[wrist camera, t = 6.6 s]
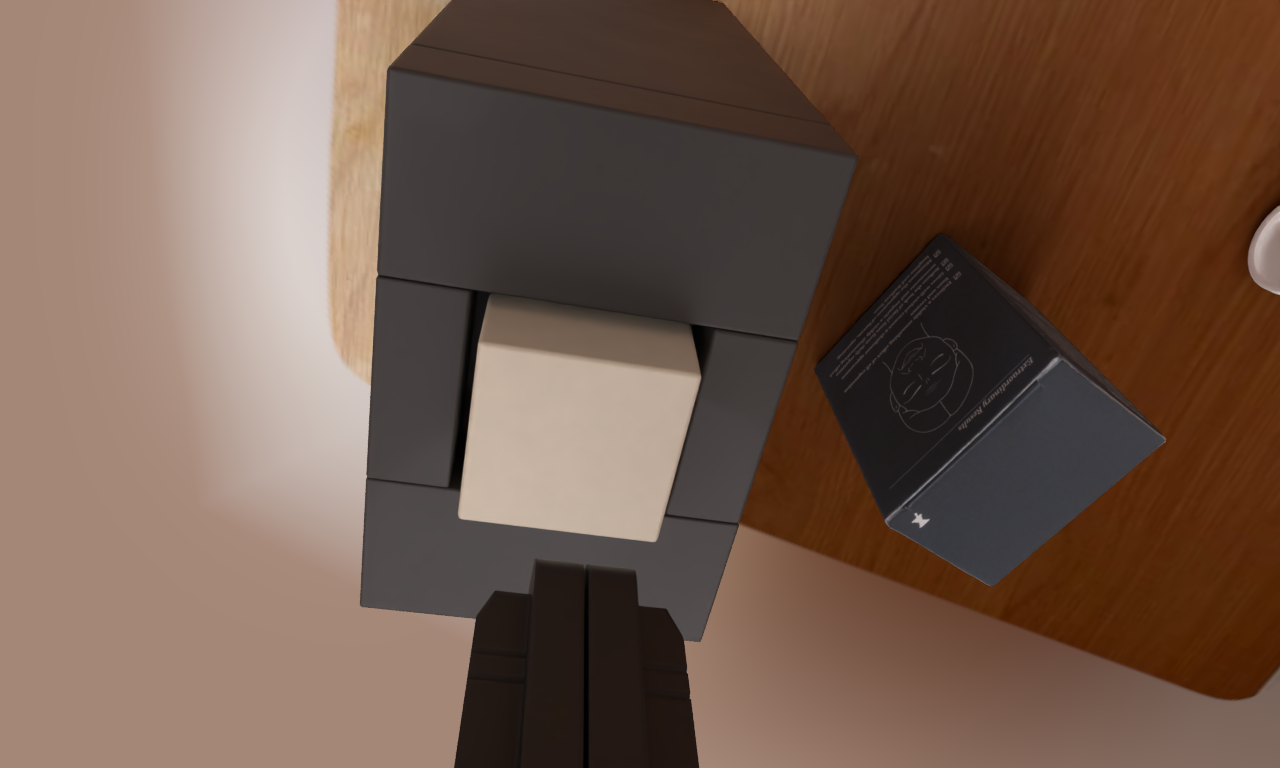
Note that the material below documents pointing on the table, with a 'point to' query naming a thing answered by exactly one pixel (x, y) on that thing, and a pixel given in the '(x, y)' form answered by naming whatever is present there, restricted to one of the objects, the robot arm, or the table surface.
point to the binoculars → (1266, 253)
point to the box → (976, 415)
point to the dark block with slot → (586, 266)
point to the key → (576, 418)
